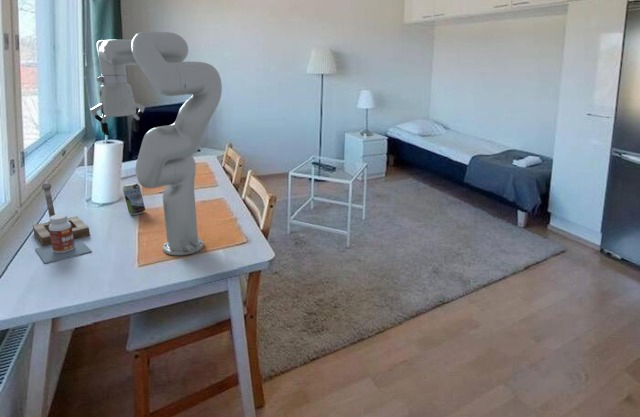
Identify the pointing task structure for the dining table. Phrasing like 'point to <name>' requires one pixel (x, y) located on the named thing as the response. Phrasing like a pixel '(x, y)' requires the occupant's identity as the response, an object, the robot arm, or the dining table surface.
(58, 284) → the dining table surface
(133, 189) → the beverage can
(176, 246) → the robot arm
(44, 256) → the mat
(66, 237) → the pill bottle
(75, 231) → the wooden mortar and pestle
